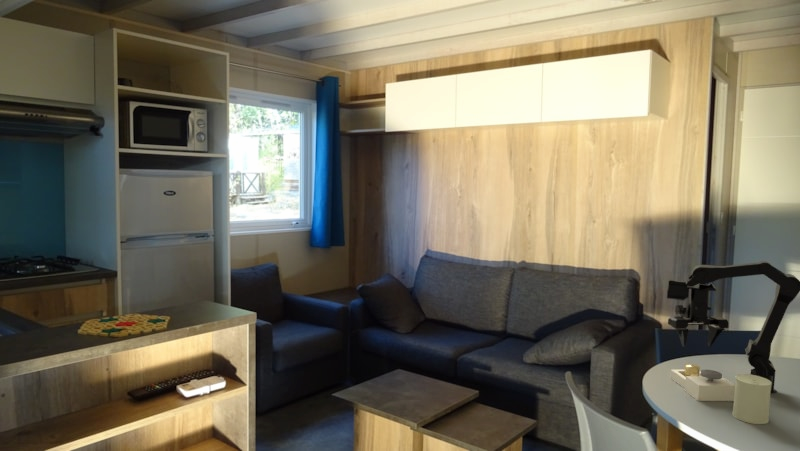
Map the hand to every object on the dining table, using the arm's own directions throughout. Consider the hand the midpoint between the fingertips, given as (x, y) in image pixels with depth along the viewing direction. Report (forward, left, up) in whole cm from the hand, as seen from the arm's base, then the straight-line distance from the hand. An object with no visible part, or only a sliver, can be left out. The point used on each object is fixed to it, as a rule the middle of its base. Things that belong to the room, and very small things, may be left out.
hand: (696, 346), depth 202 cm
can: (0, +31, -12) cm, 33 cm away
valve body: (+3, +9, -11) cm, 15 cm away
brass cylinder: (+3, +4, -11) cm, 13 cm away
